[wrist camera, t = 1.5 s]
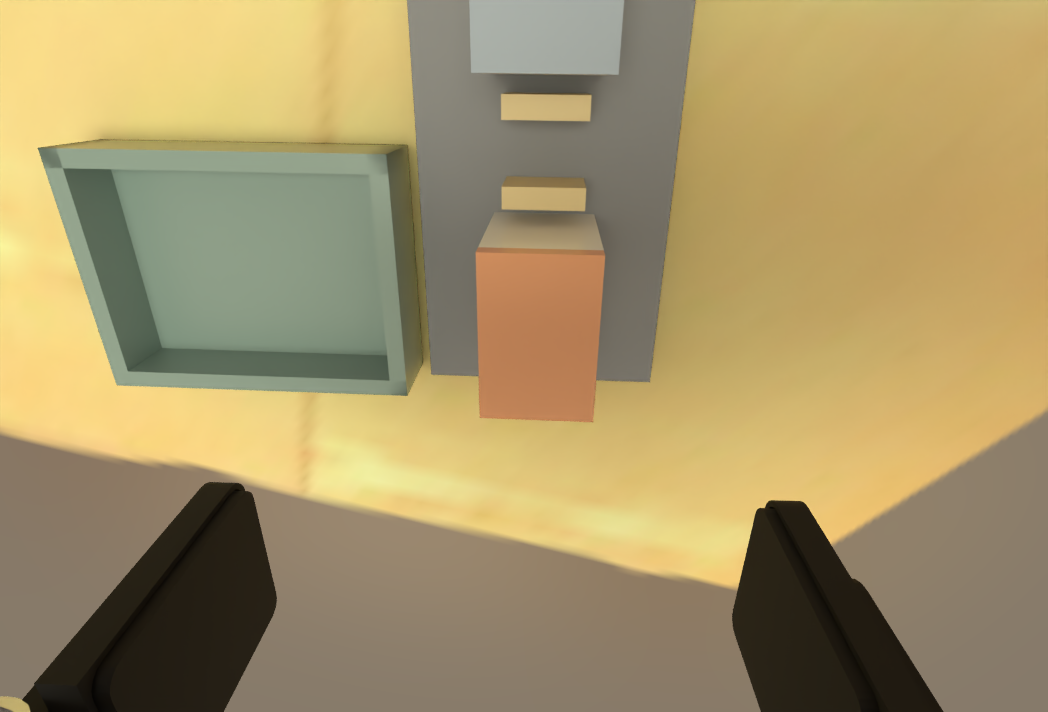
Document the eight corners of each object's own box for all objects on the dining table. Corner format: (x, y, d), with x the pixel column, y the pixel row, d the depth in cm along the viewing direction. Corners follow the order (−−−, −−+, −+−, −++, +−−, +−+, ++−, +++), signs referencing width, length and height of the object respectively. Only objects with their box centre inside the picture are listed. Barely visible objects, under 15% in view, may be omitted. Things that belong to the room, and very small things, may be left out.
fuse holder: (710, -184, 19) (790, -318, 12) (646, 371, 27) (673, 460, 21) (402, -182, 19) (325, -311, 13) (435, 364, 28) (399, 449, 21)
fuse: (594, 214, 23) (605, 255, 18) (585, 349, 26) (593, 421, 20) (494, 212, 23) (475, 252, 18) (496, 347, 26) (479, 417, 21)
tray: (407, 144, 23) (386, 154, 20) (422, 362, 28) (407, 395, 25) (100, 139, 24) (37, 147, 21) (162, 353, 28) (116, 385, 25)
